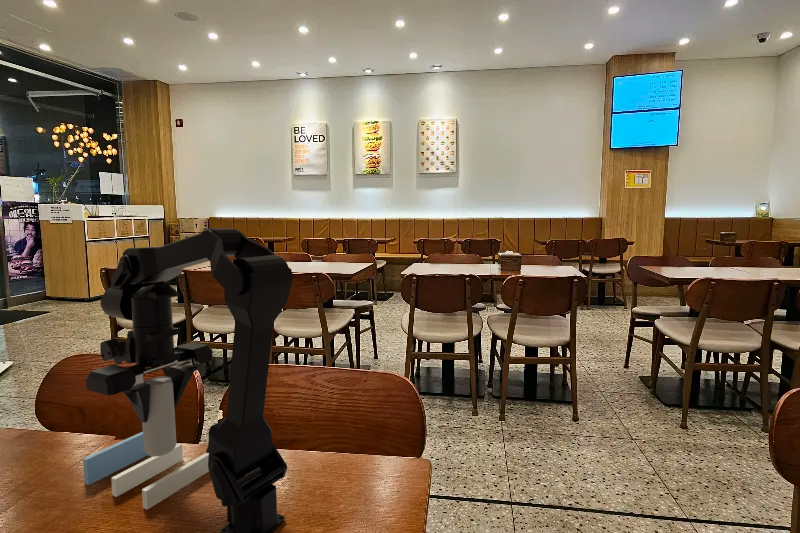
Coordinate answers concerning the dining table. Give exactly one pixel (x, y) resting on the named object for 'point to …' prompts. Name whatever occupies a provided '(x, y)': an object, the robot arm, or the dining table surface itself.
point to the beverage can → (160, 418)
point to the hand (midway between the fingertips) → (158, 415)
